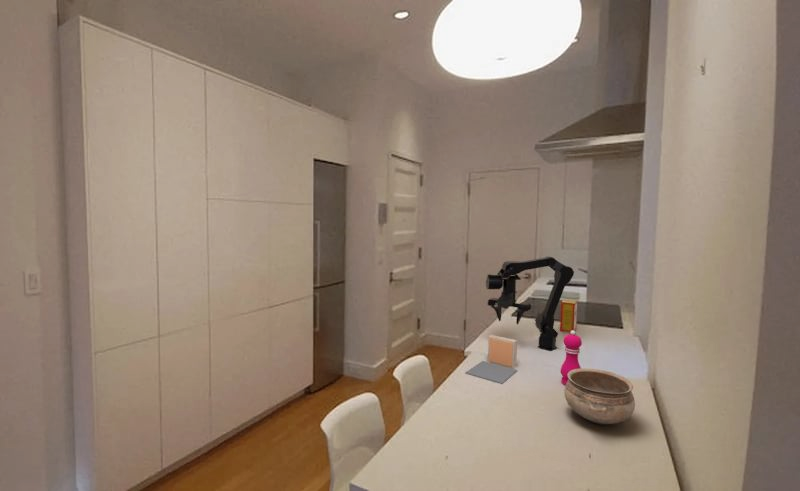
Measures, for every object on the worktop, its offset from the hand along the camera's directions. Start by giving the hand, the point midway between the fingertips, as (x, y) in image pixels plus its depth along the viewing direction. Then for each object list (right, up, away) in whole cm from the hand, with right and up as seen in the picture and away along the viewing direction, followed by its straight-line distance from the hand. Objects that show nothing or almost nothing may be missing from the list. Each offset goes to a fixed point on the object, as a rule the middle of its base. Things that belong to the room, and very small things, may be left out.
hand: (508, 322), depth 177 cm
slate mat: (-14, -14, -26) cm, 33 cm away
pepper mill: (+12, -15, -36) cm, 41 cm away
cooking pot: (+10, -17, -60) cm, 63 cm away
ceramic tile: (-8, -14, -18) cm, 24 cm away
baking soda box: (+40, -10, +29) cm, 51 cm away
